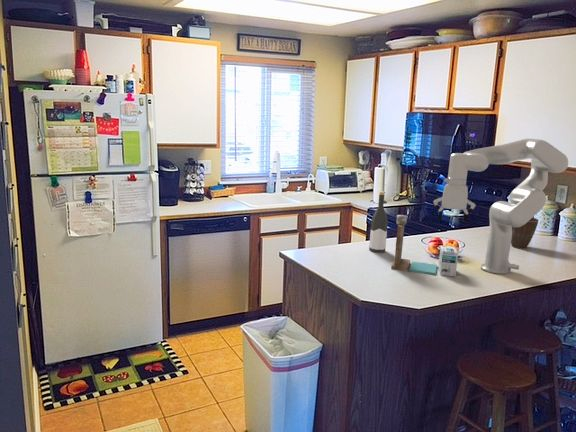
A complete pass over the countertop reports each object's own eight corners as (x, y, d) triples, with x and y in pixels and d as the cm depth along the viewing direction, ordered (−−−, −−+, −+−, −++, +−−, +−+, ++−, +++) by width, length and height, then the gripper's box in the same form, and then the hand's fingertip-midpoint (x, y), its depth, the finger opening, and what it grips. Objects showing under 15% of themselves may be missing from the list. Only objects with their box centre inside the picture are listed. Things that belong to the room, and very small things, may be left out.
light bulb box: (455, 276, 214) (458, 252, 212) (439, 275, 215) (442, 251, 213) (453, 269, 224) (455, 246, 222) (437, 267, 225) (440, 244, 223)
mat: (436, 266, 227) (436, 264, 227) (435, 274, 215) (435, 273, 215) (412, 263, 230) (412, 261, 230) (409, 271, 218) (409, 269, 218)
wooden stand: (409, 262, 231) (414, 214, 226) (407, 270, 219) (412, 219, 214) (394, 260, 233) (398, 212, 228) (390, 268, 221) (395, 218, 216)
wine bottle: (384, 248, 253) (389, 190, 246) (385, 253, 245) (391, 193, 238) (368, 247, 253) (373, 189, 247) (369, 252, 246) (374, 192, 239)
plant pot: (539, 251, 261) (544, 221, 258) (511, 250, 261) (515, 220, 258) (526, 244, 276) (530, 215, 272) (499, 242, 276) (503, 214, 272)
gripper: (435, 181, 210) (431, 220, 214) (478, 185, 205) (473, 225, 209) (436, 179, 217) (431, 217, 221) (477, 183, 212) (473, 222, 216)
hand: (452, 221), depth 215 cm, fingers open, 9 cm apart
